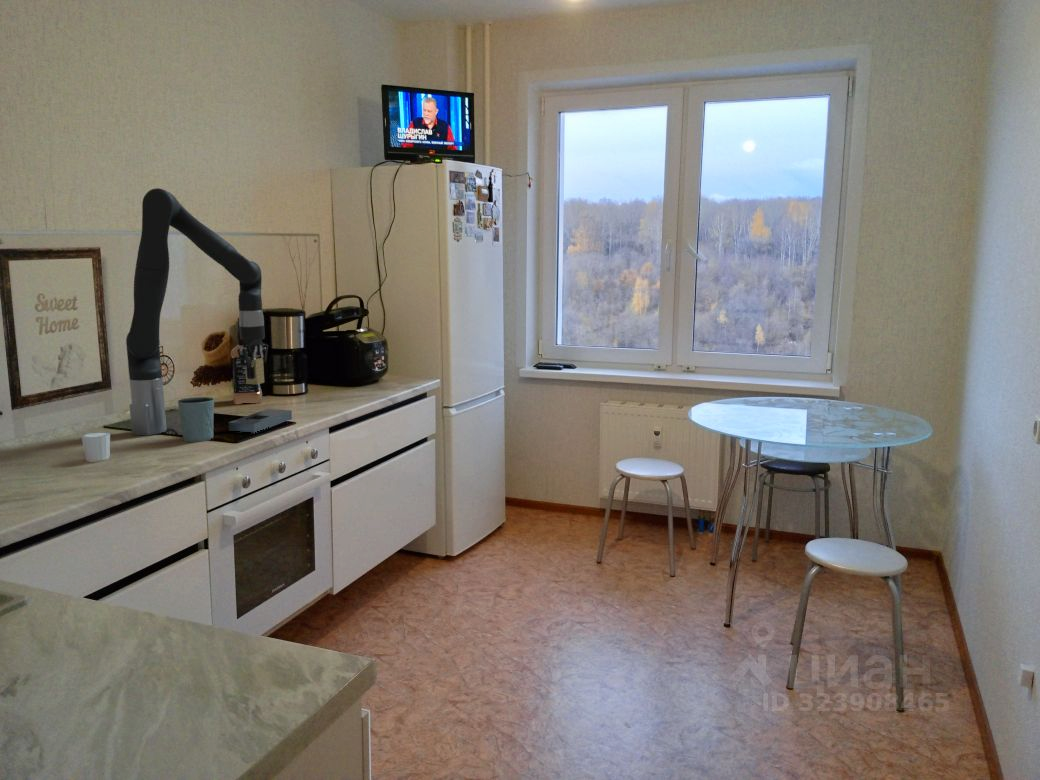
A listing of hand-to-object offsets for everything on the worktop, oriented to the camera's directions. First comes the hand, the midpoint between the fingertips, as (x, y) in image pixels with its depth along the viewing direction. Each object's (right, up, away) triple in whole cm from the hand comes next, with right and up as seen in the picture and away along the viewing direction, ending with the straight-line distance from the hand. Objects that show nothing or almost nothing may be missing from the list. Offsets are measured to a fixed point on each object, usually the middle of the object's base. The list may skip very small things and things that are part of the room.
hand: (255, 377), depth 250 cm
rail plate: (0, -16, +5) cm, 16 cm away
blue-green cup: (-13, -19, -13) cm, 26 cm away
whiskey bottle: (-18, -9, +44) cm, 48 cm away
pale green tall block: (0, -2, 0) cm, 2 cm away
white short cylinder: (-30, -23, -37) cm, 53 cm away
